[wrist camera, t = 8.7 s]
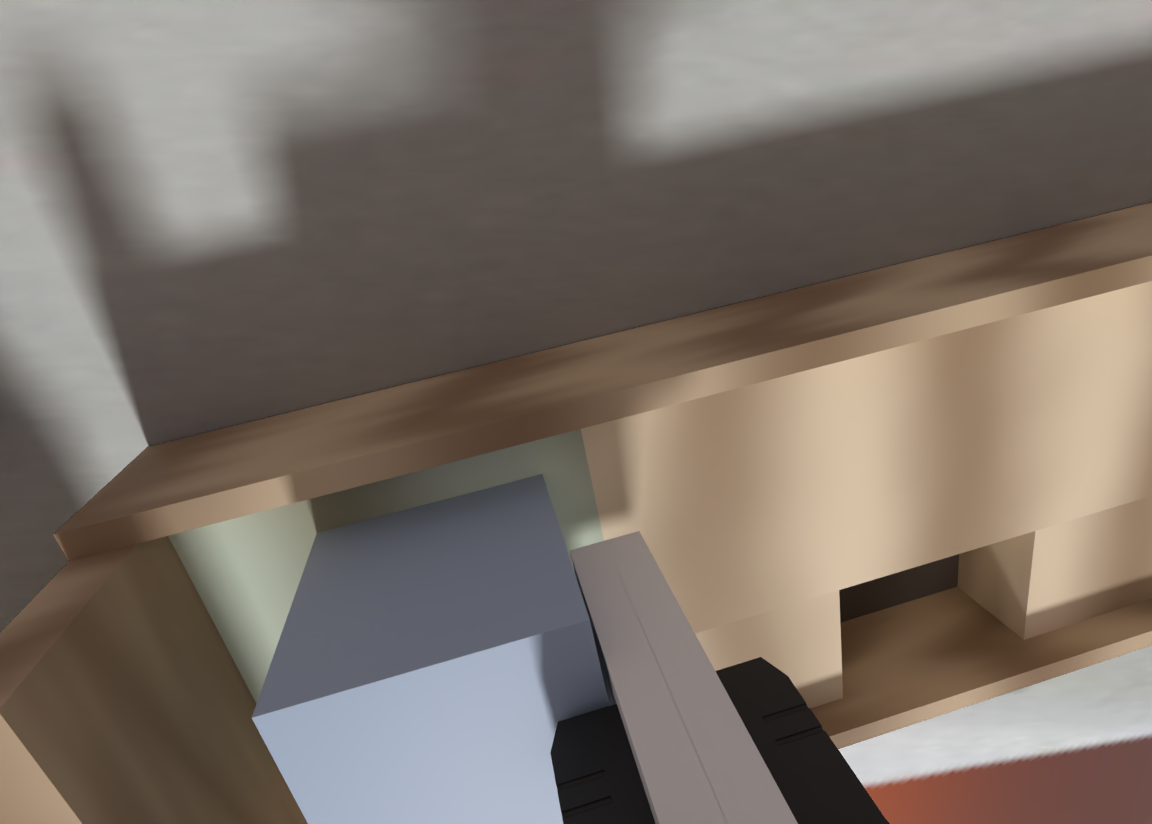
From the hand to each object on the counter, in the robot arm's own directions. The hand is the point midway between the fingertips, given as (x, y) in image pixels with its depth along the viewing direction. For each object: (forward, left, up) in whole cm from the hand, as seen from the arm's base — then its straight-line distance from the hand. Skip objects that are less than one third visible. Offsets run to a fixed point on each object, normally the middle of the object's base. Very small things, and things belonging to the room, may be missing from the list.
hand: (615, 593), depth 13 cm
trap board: (-5, +2, -5) cm, 7 cm away
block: (+3, 0, -2) cm, 4 cm away
